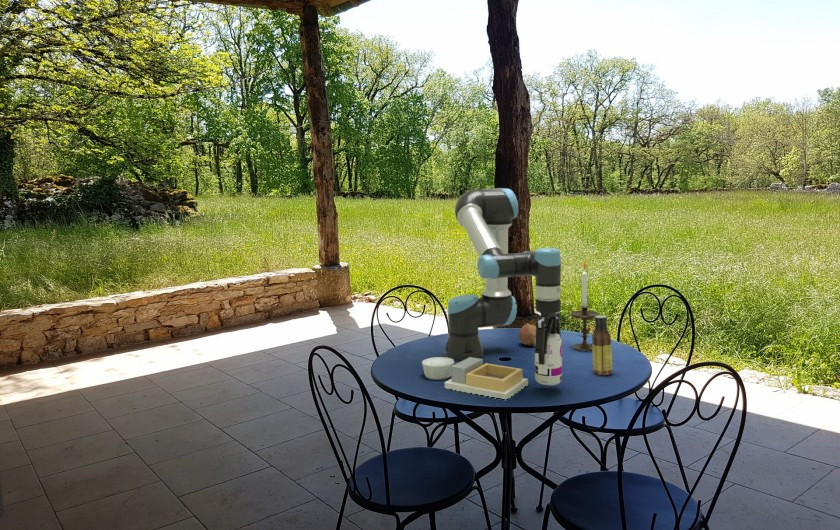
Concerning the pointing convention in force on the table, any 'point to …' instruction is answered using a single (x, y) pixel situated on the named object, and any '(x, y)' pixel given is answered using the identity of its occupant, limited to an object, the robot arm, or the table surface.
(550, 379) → the supplement can
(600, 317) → the sauce bottle
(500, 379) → the tan-rimmed shallow tray
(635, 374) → the table surface
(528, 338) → the onion
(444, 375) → the ramekin
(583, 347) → the candlestick
